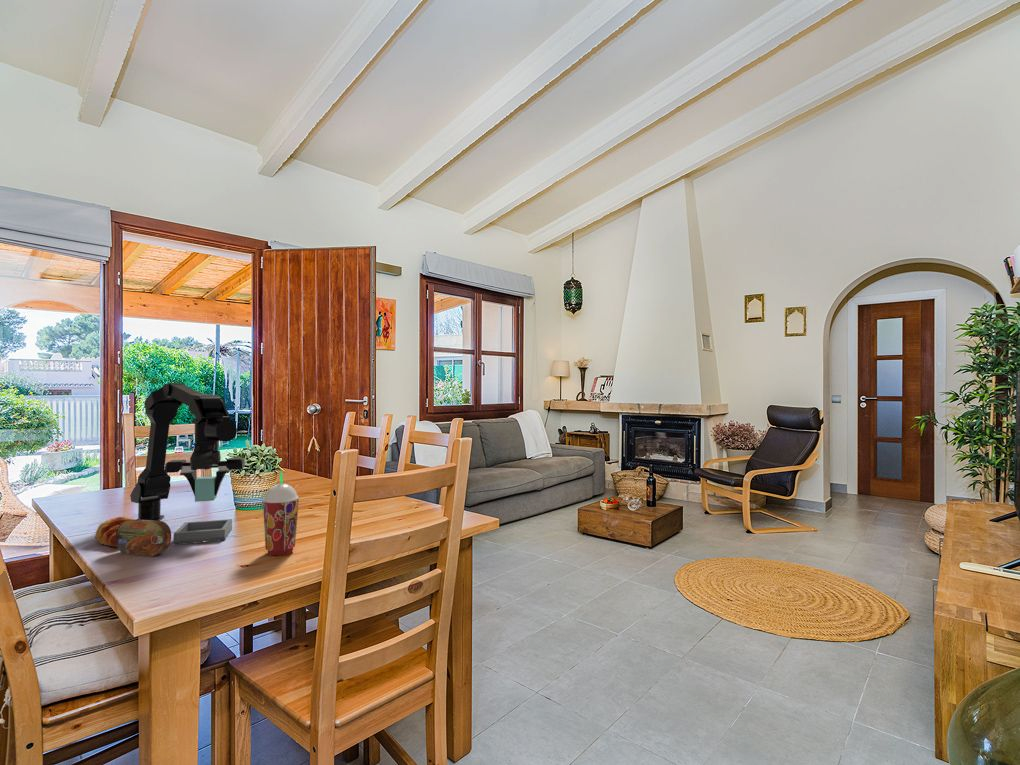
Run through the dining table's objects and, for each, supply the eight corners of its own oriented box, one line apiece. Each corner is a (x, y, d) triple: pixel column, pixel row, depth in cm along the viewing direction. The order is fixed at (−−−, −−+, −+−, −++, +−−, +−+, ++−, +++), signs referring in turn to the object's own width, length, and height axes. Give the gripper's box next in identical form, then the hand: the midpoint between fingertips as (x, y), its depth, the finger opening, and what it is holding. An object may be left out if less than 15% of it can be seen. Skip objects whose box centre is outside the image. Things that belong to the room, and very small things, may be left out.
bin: (184, 532, 148) (185, 522, 148) (232, 529, 152) (232, 519, 152) (173, 544, 136) (173, 533, 136) (224, 540, 140) (224, 529, 141)
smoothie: (304, 552, 131) (305, 472, 131) (270, 560, 125) (272, 476, 125) (289, 545, 136) (290, 469, 137) (256, 552, 130) (257, 472, 131)
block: (198, 498, 146) (198, 477, 146) (216, 497, 148) (216, 476, 148) (194, 501, 142) (195, 479, 142) (213, 500, 143) (213, 478, 144)
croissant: (103, 546, 146) (86, 523, 144) (142, 524, 152) (126, 501, 150) (108, 564, 130) (89, 538, 128) (151, 538, 136) (134, 513, 134)
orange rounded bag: (113, 553, 129) (114, 519, 129) (125, 549, 132) (126, 516, 133) (162, 558, 126) (162, 523, 126) (173, 554, 129) (174, 520, 129)
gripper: (159, 443, 134) (158, 504, 134) (239, 441, 141) (239, 499, 140) (170, 440, 145) (170, 496, 144) (245, 438, 151) (244, 491, 151)
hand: (205, 495), depth 145 cm, fingers closed on block, 4 cm apart
